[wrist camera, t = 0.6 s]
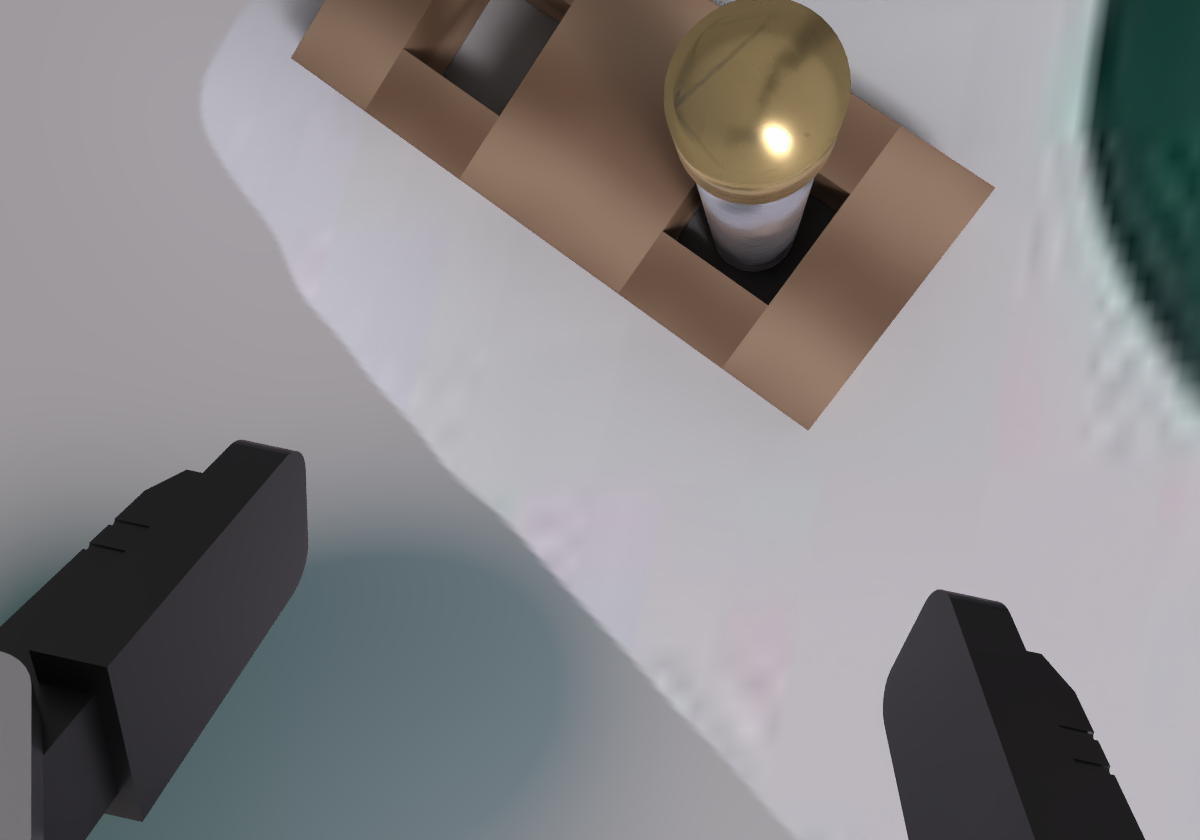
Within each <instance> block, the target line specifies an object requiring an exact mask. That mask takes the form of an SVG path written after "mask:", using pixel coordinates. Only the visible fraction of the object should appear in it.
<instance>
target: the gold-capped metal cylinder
mask: <svg viewBox="0 0 1200 840" xmlns="http://www.w3.org/2000/svg"><path fill="white" fill-rule="evenodd" d="M850 85H851V81H850V69H849V65H848V60H847V56H846V54H845V51H844V48H843V46H842V44H841V42H840V40H839V38H838V36H837V35H836V34H835V32H834V31H833V30H832V28H831V27H830V26H829V25H828V24H827V23H826V22H825V21H824V20H823V18H822V17H820V16H819V15H818V14H816V13H815V12H814V11H812V10H811V9H809V8H807V7H805V6H803V5H802V4H799V3H796V2H794V1H791V0H737V1H734V2H730V3H728V4H726V5H724V6H721V7H719V8H717V9H716V10H714V11H712V12H711V13H709V14H708V15H706V16H705V17H704V18H703V19H701V20H700V21H699V22H698V23H697V24H696V25H695V26H694V27H693V28H692V29H691V30H690V31H689V32H688V33H687V34H686V36H685V37H684V38H683V40H682V41H681V42H680V44H679V46H678V47H677V49H676V51H675V53H674V55H673V57H672V59H671V62H670V64H669V67H668V71H667V74H666V79H665V85H664V110H665V115H666V120H667V124H668V127H669V130H670V133H671V135H672V138H673V141H674V144H675V147H676V150H677V153H678V155H679V158H680V160H681V162H682V164H683V166H684V168H685V170H686V171H687V172H688V174H689V175H690V177H691V178H692V179H693V180H694V181H695V182H696V184H697V188H698V191H699V194H700V197H701V201H702V204H703V207H704V210H705V214H706V217H707V220H708V224H709V227H710V230H711V233H712V237H713V240H714V243H715V246H716V248H717V250H718V252H719V254H720V255H721V257H722V258H723V259H724V260H725V261H726V262H727V263H729V264H730V265H732V266H733V267H735V268H738V269H741V270H744V271H761V270H765V269H768V268H771V267H772V266H774V265H776V264H777V263H779V262H780V261H781V260H782V259H783V258H784V257H785V256H786V255H787V254H788V252H789V251H790V249H791V247H792V245H793V243H794V240H795V237H796V234H797V230H798V227H799V224H800V221H801V218H802V215H803V212H804V208H805V205H806V202H807V199H808V196H809V193H810V189H811V186H812V183H813V180H814V177H815V176H816V175H817V174H818V172H819V171H820V170H821V169H822V168H823V166H824V164H825V163H826V161H827V160H828V158H829V156H830V154H831V152H832V150H833V148H834V145H835V142H836V139H837V137H838V134H839V131H840V128H841V125H842V123H843V120H844V117H845V114H846V111H847V108H848V103H849V97H850Z"/></svg>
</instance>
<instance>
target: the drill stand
mask: <svg viewBox="0 0 1200 840" xmlns="http://www.w3.org/2000/svg"><path fill="white" fill-rule="evenodd" d="M526 1H528V2H529V3H531V4H532V5H534V6H535V7H536V8H538V9H539V10H541V11H542V12H544V13H545V14H547V15H548V16H550V17H551V18H553V19H554V20H556V21H557V22H559V25H558V26H557V28H556V29H555V31H554V33H553V34H552V36H551V37H550V39H549V40H548V42H547V43H546V45H545V47H544V48H543V50H542V51H541V53H540V54H539V56H538V57H537V59H536V61H535V62H534V64H533V65H532V67H531V68H530V70H529V71H528V73H527V75H526V76H525V78H524V79H523V81H522V82H521V84H520V85H519V87H518V88H517V90H516V92H515V93H514V95H513V96H512V98H511V99H510V101H509V102H508V104H507V106H506V107H505V109H504V110H503V112H502V113H501V115H500V116H498V115H497V114H495V113H494V112H493V111H491V110H490V109H488V108H487V107H485V106H484V105H483V104H481V103H480V102H478V101H477V100H475V99H474V98H473V97H471V96H470V95H468V94H467V93H466V92H464V91H463V90H461V89H460V88H458V87H457V86H456V85H454V84H453V83H451V82H450V81H449V80H447V79H446V78H444V77H443V74H444V72H445V71H446V69H447V68H448V66H449V64H450V63H451V61H452V60H453V58H454V56H455V55H456V53H457V52H458V50H459V48H460V47H461V45H462V44H463V42H464V40H465V39H466V37H467V36H468V34H469V32H470V31H471V29H472V28H473V26H474V24H475V23H476V21H477V20H478V18H479V16H480V15H481V13H482V12H483V10H484V8H485V7H486V5H487V4H488V2H489V0H325V1H324V3H323V5H322V6H321V8H320V10H319V11H318V13H317V15H316V16H315V18H314V20H313V22H312V23H311V25H310V27H309V28H308V30H307V32H306V33H305V35H304V37H303V38H302V40H301V42H300V44H299V45H298V47H297V49H296V50H295V52H294V54H293V55H292V57H291V58H292V59H293V60H295V61H296V62H297V63H299V64H300V65H302V66H303V67H304V68H306V69H307V70H309V71H310V72H311V73H313V74H314V75H315V76H317V77H318V78H320V79H321V80H322V81H324V82H325V83H327V84H328V85H329V86H331V87H332V88H333V89H335V90H336V91H338V92H339V93H340V94H342V95H343V96H345V97H346V98H347V99H349V100H350V101H352V102H353V103H354V104H356V105H357V106H358V107H360V108H361V109H363V110H364V111H365V112H367V113H368V114H370V115H371V116H372V117H374V118H375V119H377V120H378V121H379V122H381V123H382V124H383V125H385V126H386V127H388V128H389V129H390V130H392V131H393V132H395V133H396V134H397V135H399V136H400V137H401V138H403V139H404V140H406V141H407V142H408V143H410V144H411V145H413V146H414V147H415V148H417V149H418V150H420V151H421V152H422V153H424V154H425V155H426V156H428V157H429V158H431V159H432V160H433V161H435V162H436V163H438V164H439V165H440V166H442V167H443V168H445V169H446V170H447V171H449V172H450V173H451V174H453V175H454V176H456V177H457V178H458V179H460V180H461V181H463V182H464V183H465V184H467V185H468V186H469V187H471V188H472V189H474V190H475V191H476V192H478V193H479V194H481V195H482V196H483V197H485V198H486V199H488V200H489V201H490V202H492V203H493V204H494V205H496V206H497V207H499V208H500V209H501V210H503V211H504V212H506V213H507V214H508V215H510V216H511V217H513V218H514V219H515V220H517V221H518V222H519V223H521V224H522V225H524V226H525V227H526V228H528V229H529V230H531V231H532V232H533V233H535V234H536V235H537V236H539V237H540V238H542V239H543V240H544V241H546V242H547V243H549V244H550V245H551V246H553V247H554V248H556V249H557V250H558V251H560V252H561V253H562V254H564V255H565V256H567V257H568V258H569V259H571V260H572V261H574V262H575V263H576V264H578V265H579V266H581V267H582V268H583V269H585V270H586V271H587V272H589V273H590V274H592V275H593V276H594V277H596V278H597V279H599V280H600V281H601V282H603V283H604V284H606V285H607V286H608V287H610V288H611V289H612V290H614V291H615V292H617V293H618V294H619V295H621V296H622V297H624V298H625V299H626V300H628V301H629V302H630V303H632V304H633V305H635V306H636V307H637V308H639V309H640V310H642V311H643V312H644V313H646V314H647V315H649V316H650V317H651V318H653V319H654V320H655V321H657V322H658V323H660V324H661V325H662V326H664V327H665V328H667V329H668V330H669V331H671V332H672V333H674V334H675V335H676V336H678V337H679V338H680V339H682V340H683V341H685V342H686V343H687V344H689V345H690V346H692V347H693V348H694V349H696V350H697V351H698V352H700V353H701V354H703V355H704V356H705V357H707V358H708V359H710V360H711V361H712V362H714V363H715V364H717V365H718V366H719V367H721V368H722V369H723V370H725V371H726V372H728V373H729V374H730V375H732V376H733V377H735V378H736V379H737V380H739V381H740V382H742V383H743V384H744V385H746V386H747V387H748V388H750V389H751V390H753V391H754V392H755V393H757V394H758V395H760V396H761V397H762V398H764V399H765V400H766V401H768V402H769V403H771V404H772V405H773V406H775V407H776V408H778V409H779V410H780V411H782V412H783V413H785V414H786V415H787V416H789V417H790V418H791V419H793V420H794V421H796V422H797V423H798V424H800V425H801V426H803V427H804V428H805V429H807V430H809V429H810V427H811V426H812V425H813V424H814V422H815V421H816V420H817V418H818V417H819V416H820V414H821V413H822V412H823V411H824V409H825V408H826V407H827V405H828V404H829V403H830V402H831V400H832V399H833V398H834V396H835V395H836V394H837V392H838V391H839V390H840V389H841V387H842V386H843V385H844V383H845V382H846V381H847V379H848V378H849V377H850V376H851V374H852V373H853V372H854V370H855V369H856V368H857V366H858V365H859V364H860V363H861V361H862V360H863V359H864V357H865V356H866V355H867V353H868V352H869V351H870V350H871V348H872V347H873V346H874V344H875V343H876V342H877V340H878V339H879V338H880V337H881V335H882V334H883V333H884V331H885V330H886V329H887V327H888V326H889V325H890V324H891V322H892V321H893V320H894V318H895V317H896V316H897V315H898V313H899V312H900V311H901V309H902V308H903V307H904V305H905V304H906V303H907V302H908V300H909V299H910V298H911V296H912V295H913V294H914V292H915V291H916V290H917V289H918V287H919V286H920V285H921V283H922V282H923V281H924V279H925V278H926V277H927V276H928V274H929V273H930V272H931V270H932V269H933V268H934V266H935V265H936V264H937V263H938V261H939V260H940V259H941V257H942V256H943V255H944V253H945V252H946V251H947V250H948V248H949V247H950V246H951V244H952V243H953V242H954V241H955V239H956V238H957V237H958V235H959V234H960V233H961V231H962V230H963V229H964V228H965V226H966V225H967V224H968V222H969V221H970V220H971V218H972V217H973V216H974V215H975V213H976V212H977V211H978V209H979V208H980V207H981V205H982V204H983V203H984V202H985V200H986V199H987V198H988V196H989V195H990V194H991V192H992V191H993V190H994V189H995V187H993V186H992V185H990V184H989V183H987V182H986V181H984V180H983V179H981V178H980V177H978V176H977V175H975V174H974V173H972V172H971V171H969V170H967V169H966V168H964V167H963V166H961V165H960V164H958V163H957V162H955V161H954V160H952V159H951V158H949V157H948V156H946V155H945V154H943V153H942V152H940V151H939V150H937V149H936V148H934V147H933V146H931V145H929V144H928V143H926V142H925V141H923V140H922V139H920V138H919V137H917V136H916V135H914V134H913V133H911V132H910V131H908V130H907V129H905V128H904V127H902V126H901V125H899V124H898V123H896V122H895V121H893V120H891V119H890V118H888V117H887V116H885V115H884V114H882V113H881V112H879V111H878V110H876V109H875V108H873V107H872V106H870V105H869V104H867V103H866V102H864V101H863V100H861V99H860V98H858V97H856V96H855V95H853V94H852V93H850V97H849V103H848V108H847V111H846V114H845V117H844V120H843V123H842V125H841V128H840V131H839V134H838V137H837V139H836V142H835V145H834V148H833V150H832V152H831V154H830V156H829V158H828V160H827V161H826V163H825V164H824V166H823V168H822V169H821V170H820V171H819V172H818V174H817V175H816V176H815V177H814V180H813V183H812V186H811V189H810V194H812V195H813V196H815V197H816V198H818V199H819V200H820V201H822V202H823V203H825V204H826V205H828V206H829V207H831V208H832V209H834V210H835V211H837V213H836V214H835V216H834V217H833V219H832V220H831V221H830V223H829V224H828V225H827V227H826V228H825V229H824V231H823V232H822V233H821V235H820V236H819V238H818V239H817V240H816V242H815V243H814V244H813V246H812V247H811V248H810V250H809V251H808V252H807V254H806V255H805V257H804V258H803V259H802V261H801V262H800V263H799V265H798V266H797V267H796V269H795V270H794V271H793V273H792V274H791V275H790V277H789V278H788V280H787V281H786V282H785V284H784V285H783V286H782V288H781V289H780V290H779V292H778V293H777V294H776V296H775V297H774V299H773V300H772V301H771V303H770V304H769V305H767V304H765V303H764V302H762V301H761V300H760V299H758V298H757V297H755V296H754V295H753V294H751V293H750V292H748V291H747V290H745V289H744V288H743V287H741V286H740V285H738V284H737V283H735V282H734V281H733V280H731V279H730V278H728V277H727V276H726V275H724V274H723V273H721V272H720V271H718V270H717V269H716V268H714V267H713V266H711V265H710V264H708V263H707V262H706V261H704V260H703V259H701V258H700V257H699V256H697V255H696V254H694V253H693V252H691V251H690V250H689V249H687V248H686V247H684V246H683V245H681V244H680V243H679V242H677V241H676V239H677V238H678V236H679V235H680V234H681V232H682V231H683V229H684V228H685V227H686V225H687V224H688V222H689V221H690V219H691V218H692V217H693V215H694V214H695V212H696V211H697V209H698V208H699V207H700V205H701V204H702V201H701V197H700V194H699V191H698V188H697V184H696V182H695V181H694V180H693V179H692V178H691V177H690V175H689V174H688V172H687V171H686V170H685V168H684V166H683V164H682V162H681V160H680V158H679V155H678V153H677V150H676V147H675V144H674V141H673V138H672V135H671V133H670V130H669V127H668V124H667V120H666V115H665V110H664V85H665V79H666V74H667V71H668V67H669V64H670V62H671V59H672V57H673V55H674V53H675V51H676V49H677V47H678V46H679V44H680V42H681V41H682V40H683V38H684V37H685V36H686V34H687V33H688V32H689V31H690V30H691V29H692V28H693V27H694V26H695V25H696V24H697V23H698V22H699V21H700V20H701V19H703V18H704V17H705V16H706V15H708V14H709V13H711V12H712V11H714V10H716V9H717V8H719V7H720V6H718V5H717V4H715V3H714V2H712V1H711V0H526Z"/></svg>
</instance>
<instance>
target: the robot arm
mask: <svg viewBox="0 0 1200 840" xmlns="http://www.w3.org/2000/svg"><path fill="white" fill-rule="evenodd" d="M307 528H308V527H307V499H306V469H305V462H304V458H303V456H302V454H301V453H300V452H298V451H293V450H288V449H283V448H279V447H274V446H269V445H265V444H260V443H255V442H250V441H246V440H238V441H236V442H234V443H232V444H231V445H230V446H229V447H228V448H227V449H226V450H225V451H224V452H223V453H222V454H221V455H220V456H219V457H218V458H217V459H216V460H215V461H214V462H213V463H212V464H211V465H210V466H209V467H208V468H207V469H206V470H205V471H204V472H203V473H199V472H195V471H190V470H185V471H183V472H181V473H179V474H177V475H175V476H173V477H171V478H169V479H167V480H165V481H163V482H161V483H159V484H157V485H155V486H153V487H151V488H149V489H147V490H145V491H144V492H143V493H142V494H141V495H140V496H139V497H138V498H137V499H135V500H134V502H132V503H131V504H130V505H129V506H128V507H127V508H126V509H125V510H124V511H123V512H122V513H121V514H120V515H118V516H117V517H116V518H115V522H114V524H113V525H108V526H107V527H106V528H105V529H104V530H103V531H101V532H100V533H99V534H98V535H97V536H96V537H95V538H94V539H93V540H92V541H91V542H90V545H89V548H88V549H87V550H85V549H82V550H81V551H80V552H79V553H78V554H77V555H76V556H75V557H74V558H73V559H72V560H71V561H70V562H69V563H68V564H67V565H65V567H63V568H62V569H61V570H60V571H59V572H58V573H57V574H56V575H55V576H54V577H53V578H52V579H51V580H50V581H48V582H47V584H45V585H44V586H43V587H42V588H41V589H40V590H39V591H38V592H37V593H36V594H35V595H34V596H33V597H32V598H30V599H29V600H28V601H27V602H26V603H25V604H24V605H23V606H22V607H21V608H20V609H19V610H18V611H17V612H16V613H15V614H13V615H12V616H11V617H10V618H9V619H8V620H7V621H6V622H5V623H4V624H3V625H2V626H1V627H0V840H85V839H86V838H87V836H88V835H89V834H90V832H91V831H92V829H93V828H94V827H95V825H96V824H97V822H98V821H99V820H100V818H101V817H102V815H103V814H104V813H105V814H110V815H114V816H119V817H124V818H128V819H132V820H136V821H141V822H143V820H144V819H145V817H146V816H147V814H148V813H149V811H150V810H151V808H152V806H153V805H154V804H155V802H156V800H157V799H158V797H159V796H160V794H161V793H162V791H163V790H164V788H165V787H166V785H167V784H168V782H169V781H170V779H171V778H172V776H173V775H174V773H175V772H176V770H177V769H178V767H179V765H180V764H181V763H182V761H183V760H184V758H185V757H186V755H187V754H188V752H189V751H190V749H191V747H192V746H193V745H194V743H195V741H196V740H197V738H198V737H199V735H200V734H201V732H202V731H203V729H204V728H205V726H206V725H207V723H208V722H209V720H210V719H211V717H212V716H213V714H214V713H215V711H216V710H217V708H218V707H219V705H220V704H221V702H222V701H223V699H224V698H225V696H226V694H227V693H228V692H229V690H230V688H231V687H232V685H233V684H234V683H235V681H236V680H237V678H238V676H239V675H240V673H241V672H242V670H243V669H244V667H245V666H246V664H247V663H248V661H249V659H250V658H251V657H252V655H253V654H254V652H255V651H256V649H257V648H258V646H259V645H260V643H261V642H262V640H263V639H264V637H265V636H266V634H267V633H268V631H269V629H270V628H271V626H272V625H273V624H274V622H275V620H276V619H277V617H278V616H279V614H280V613H281V611H282V610H283V608H284V607H285V605H286V604H287V602H288V601H289V599H290V598H291V596H292V595H293V593H294V591H295V590H296V587H297V586H298V584H299V581H300V579H301V576H302V573H303V570H304V567H305V563H306V558H307V551H308V529H307ZM883 718H884V725H885V730H886V735H887V739H888V744H889V749H890V754H891V758H892V763H893V768H894V773H895V777H896V782H897V787H898V792H899V796H900V801H901V806H902V810H903V815H904V820H905V825H906V829H907V834H908V839H909V840H1145V838H1144V836H1143V834H1142V832H1141V830H1140V828H1139V826H1138V824H1137V822H1136V819H1135V817H1134V815H1133V813H1132V811H1131V809H1130V807H1129V805H1128V803H1127V801H1126V798H1125V796H1124V794H1123V792H1122V790H1121V788H1120V786H1119V784H1118V782H1117V779H1116V777H1115V775H1110V773H1109V768H1110V765H1109V763H1108V761H1107V758H1106V756H1105V754H1104V752H1103V750H1102V748H1101V746H1100V744H1099V742H1098V741H1097V740H1094V739H1093V734H1094V731H1093V729H1092V727H1091V725H1090V723H1089V721H1088V719H1087V716H1086V714H1085V712H1084V710H1083V708H1082V706H1081V704H1080V702H1079V700H1078V698H1077V695H1076V693H1075V692H1074V690H1073V689H1072V688H1071V687H1070V686H1069V685H1068V684H1067V683H1066V681H1065V680H1064V679H1063V678H1062V677H1061V676H1060V675H1059V674H1058V672H1057V671H1056V670H1055V669H1054V668H1053V667H1052V666H1051V664H1050V663H1049V662H1048V661H1047V660H1046V659H1045V658H1044V657H1043V655H1042V654H1039V653H1034V652H1029V651H1026V649H1025V647H1024V644H1023V642H1022V640H1021V637H1020V635H1019V633H1018V631H1017V628H1016V626H1015V624H1014V621H1013V619H1012V617H1011V614H1010V612H1009V611H1008V609H1007V608H1006V606H1005V605H1004V604H1002V603H1000V602H997V601H992V600H987V599H983V598H978V597H973V596H969V595H964V594H959V593H954V592H950V591H945V590H936V591H934V592H933V593H932V594H931V595H930V596H929V597H928V599H927V600H926V602H925V604H924V606H923V608H922V610H921V612H920V614H919V616H918V618H917V620H916V622H915V624H914V626H913V628H912V629H911V631H910V633H909V635H908V637H907V639H906V641H905V643H904V645H903V647H902V649H901V651H900V653H899V655H898V657H897V659H896V661H895V663H894V665H893V667H892V669H891V671H890V673H889V676H888V679H887V682H886V686H885V691H884V699H883Z"/></svg>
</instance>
